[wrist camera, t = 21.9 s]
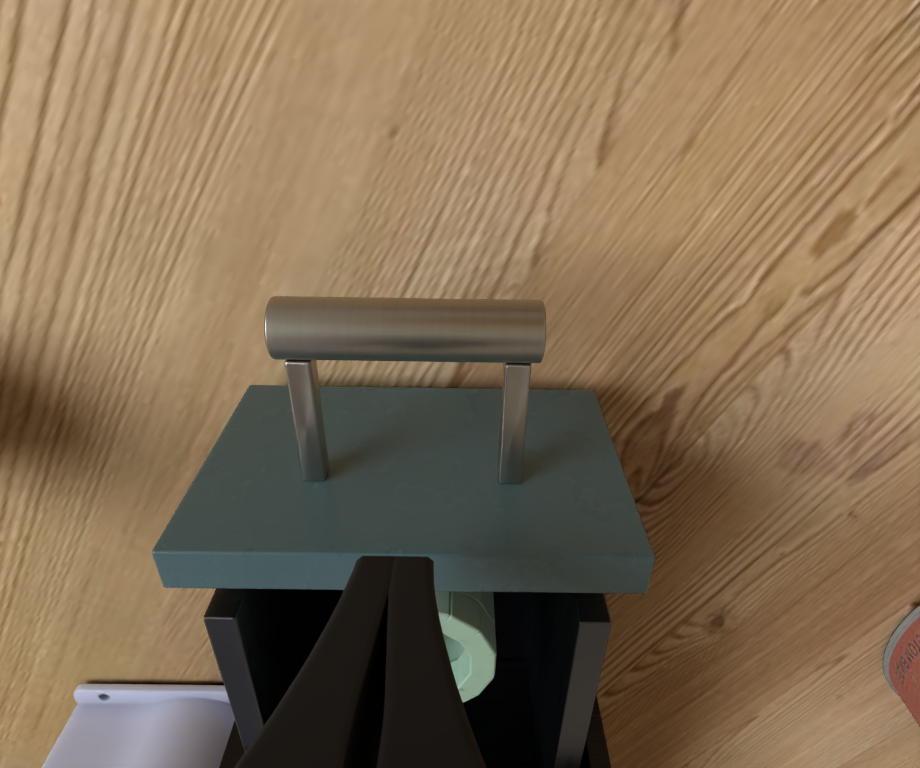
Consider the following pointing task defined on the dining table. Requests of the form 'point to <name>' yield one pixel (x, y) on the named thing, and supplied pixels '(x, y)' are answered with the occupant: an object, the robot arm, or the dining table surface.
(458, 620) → the jar
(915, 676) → the canned food
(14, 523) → the dining table surface
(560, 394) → the drawer
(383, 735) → the robot arm
